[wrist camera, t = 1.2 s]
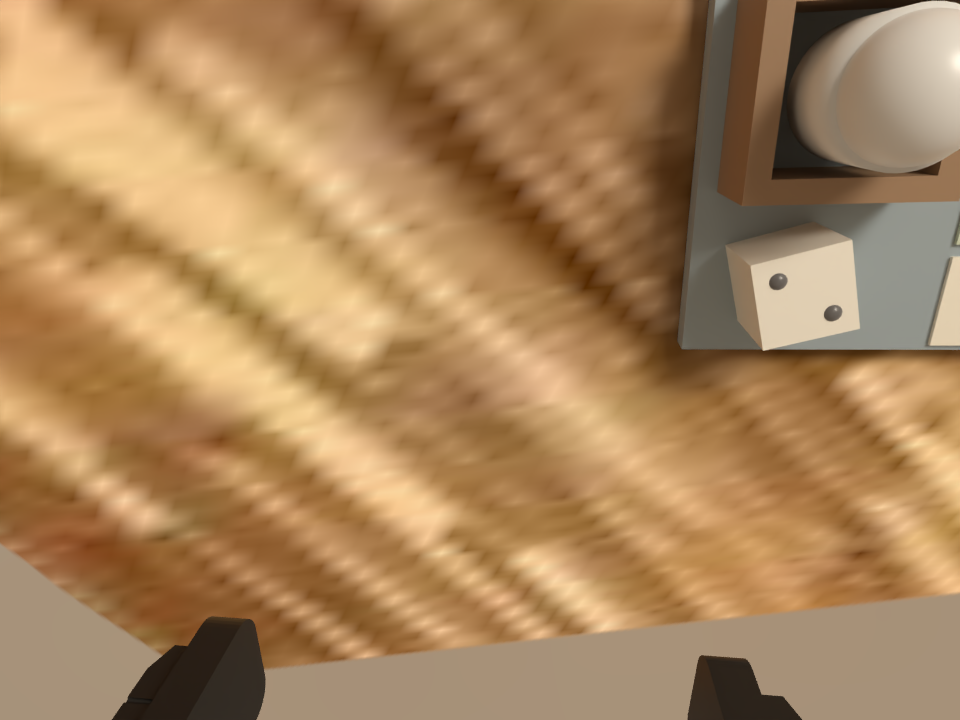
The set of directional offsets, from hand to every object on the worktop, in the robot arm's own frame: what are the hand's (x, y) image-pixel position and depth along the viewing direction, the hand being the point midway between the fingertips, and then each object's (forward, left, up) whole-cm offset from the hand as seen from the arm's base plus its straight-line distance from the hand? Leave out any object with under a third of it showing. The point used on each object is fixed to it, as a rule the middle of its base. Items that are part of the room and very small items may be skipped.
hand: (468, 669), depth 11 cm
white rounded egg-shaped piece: (-9, +13, -20) cm, 25 cm away
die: (-1, +12, -22) cm, 26 cm away
